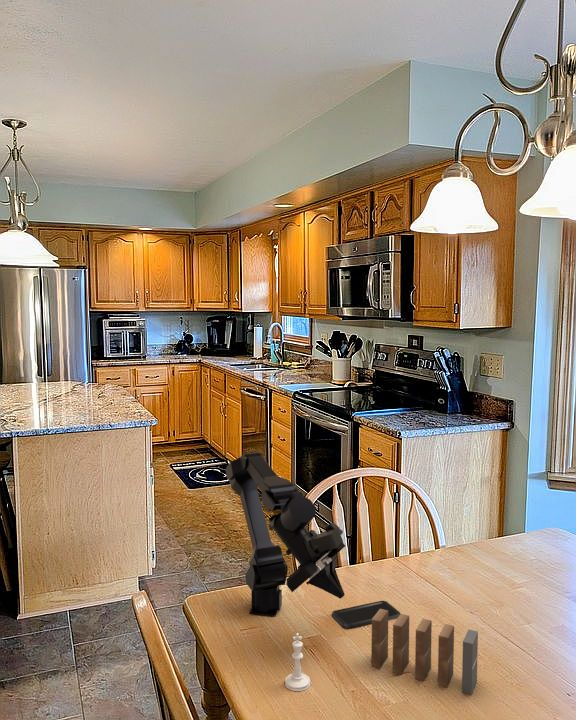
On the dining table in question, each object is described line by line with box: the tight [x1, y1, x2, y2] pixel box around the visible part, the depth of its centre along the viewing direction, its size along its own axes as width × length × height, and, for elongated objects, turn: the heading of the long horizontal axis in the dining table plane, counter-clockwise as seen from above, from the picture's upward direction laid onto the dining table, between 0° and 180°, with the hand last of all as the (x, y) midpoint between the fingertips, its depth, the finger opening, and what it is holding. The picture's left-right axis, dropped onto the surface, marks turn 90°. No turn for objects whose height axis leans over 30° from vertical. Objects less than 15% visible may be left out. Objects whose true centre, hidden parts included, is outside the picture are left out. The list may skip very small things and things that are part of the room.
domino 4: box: [437, 623, 455, 689], centre depth 120 cm, size 2×5×10 cm, turn 152°
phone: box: [331, 600, 401, 630], centre depth 145 cm, size 8×1×15 cm
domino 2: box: [392, 613, 410, 676], centre depth 124 cm, size 2×5×10 cm, turn 152°
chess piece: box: [284, 632, 311, 692], centre depth 119 cm, size 5×5×10 cm
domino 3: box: [414, 618, 433, 682], centre depth 122 cm, size 2×5×10 cm, turn 152°
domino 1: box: [371, 609, 389, 670], centre depth 126 cm, size 2×5×10 cm, turn 152°
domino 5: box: [461, 629, 479, 696], centre depth 118 cm, size 2×5×10 cm, turn 152°
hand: (342, 596), depth 129 cm, fingers closed
